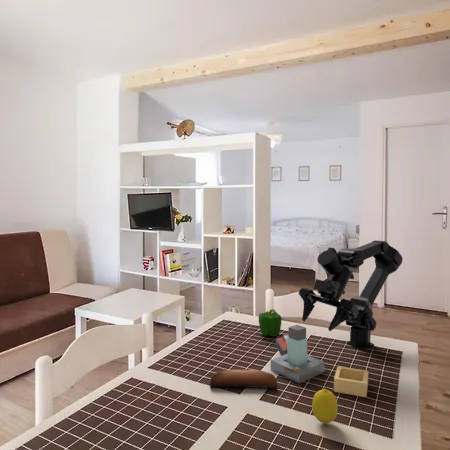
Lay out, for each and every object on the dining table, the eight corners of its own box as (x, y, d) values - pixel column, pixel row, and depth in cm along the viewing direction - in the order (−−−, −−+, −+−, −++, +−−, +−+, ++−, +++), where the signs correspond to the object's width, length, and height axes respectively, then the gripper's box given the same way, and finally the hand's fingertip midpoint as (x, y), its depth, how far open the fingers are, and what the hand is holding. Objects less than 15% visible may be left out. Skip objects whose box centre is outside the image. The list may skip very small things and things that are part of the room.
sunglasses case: (275, 375, 111) (275, 360, 107) (276, 398, 105) (277, 383, 101) (212, 374, 112) (211, 359, 108) (210, 397, 106) (209, 382, 102)
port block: (295, 359, 121) (295, 349, 121) (324, 372, 112) (324, 360, 112) (270, 369, 114) (270, 358, 114) (299, 383, 106) (299, 371, 105)
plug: (296, 366, 116) (296, 324, 115) (307, 371, 113) (307, 327, 112) (287, 370, 114) (287, 327, 113) (297, 375, 110) (297, 330, 110)
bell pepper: (255, 331, 147) (255, 306, 146) (276, 329, 149) (276, 304, 148) (263, 339, 139) (263, 312, 138) (284, 337, 141) (284, 310, 140)
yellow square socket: (337, 378, 108) (337, 366, 108) (367, 383, 105) (368, 370, 105) (333, 391, 101) (334, 378, 101) (366, 397, 98) (366, 383, 98)
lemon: (308, 417, 89) (309, 384, 89) (332, 416, 90) (332, 382, 89) (316, 432, 84) (316, 396, 83) (341, 430, 84) (341, 394, 83)
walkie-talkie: (310, 360, 122) (294, 337, 142) (310, 346, 121) (294, 325, 141) (282, 361, 121) (271, 338, 141) (282, 347, 121) (271, 326, 141)
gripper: (302, 263, 125) (280, 304, 119) (356, 275, 112) (334, 322, 106) (315, 281, 132) (294, 320, 126) (367, 295, 118) (347, 340, 113)
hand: (315, 325), depth 118 cm, fingers open, 9 cm apart
